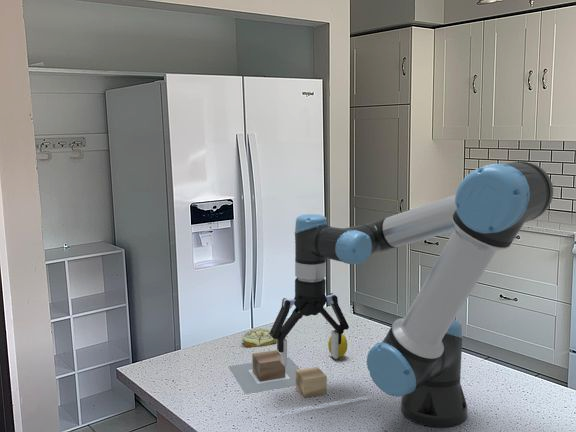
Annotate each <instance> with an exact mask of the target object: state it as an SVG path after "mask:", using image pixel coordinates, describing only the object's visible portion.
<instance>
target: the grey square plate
mask: <svg viewBox="0 0 576 432" xmlns="http://www.w3.org/2000/svg"><path fill="white" fill-rule="evenodd" d="M227 367H228V368H229V370H230V372H231V373H232V375H233V377H234V378H235V379H236V382H237V383H238V385H239V386H240V388H241V390H242V391H243V393H244V394H245V395H248V394H254V393H260V392H261V393H262V392H266V391H271V390H272V391H273V390H279V389H285V388H291V387H296V370H300V369H301V368H300V367H299V366H298V364H296V363H295V361H293V359H292V358H291V357H289V356H287V366H285V378H279V379H273V380H267V381H261V382H260V381H259V379H258V378H257V376H256V375H255V374H254V372H253V362H248V363H247V362H246V363H242V364H236V365H228V366H227Z"/></svg>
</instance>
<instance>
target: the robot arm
mask: <svg viewBox="0 0 576 432" xmlns="http://www.w3.org/2000/svg"><path fill="white" fill-rule="evenodd" d="M553 198H554V184H553V182H552V180H551V177H550V176H549V174H548V173H547V172H546V171H545V170H544V169H543V168H542V167H540V166H539V165H537V164H535V163H532V162H528V161H513V162H509V163H508V162H507V163H491V164H486V165H483V166H481V167H479V168H476V169H474V170H472V171H471V172H469V173H468V174H467V175H466V176H465V177H464V178H463V179H462V180H461V182H460V183H459V185H458V187H457V189H456V193H455V194H453V195H450V196H447V197H443V198H440V199H438V200H434V201H432V202H429V203H427V204H423V205H420V206H418V207H414V208H411V209H408V210H406V211H402V212H399V213H397V214H394V215H391V216H388V217H385V218H381V219H379V220H375V221H372V222H367V223H364V224H360V225H354V226H349V227H345V228H343V227H341V228H340V227H335V226H329V225H328V221H327V217H326V216H324V215H322V214H313V213H310V214H309V213H308V214H301V215H299V216H297V217H296V219H295V229H294V240H295V241H294V243H295V247H294V248H295V249H294V250H295V252H294V253H295V258H294V260H295V261H294V265H295V266H294V271H295V272H294V276H295V279H294V298H293V299H288V298H286V297H284V298H283V299H282V300H281V308H280V309H279V312H278V314H277V316H276V318H275V321H274V322H273V324H272V326H271V329H270V330H271V331H270V333H269V334H270V335H271V337H272V338H273V339H277V341H276V350H277V351H278V352H279V353H280V354H281V363H282V364H283V365H284V366H287V357H288V339H286V337H287V336H288V335H289V333H290V332H291V331H292V329H293V328H294V327H295V325H296V324H297V323H298V321H299V320H301V319H302V317H304V316H305V317H309V316H317V315H319V314H321V316H322V317H324V319H325V320H326V321H327V322H328V323H329V324H330V326H331V327H332V328H333V329H334V330H331V333H330V334H331V335H330V337H331V353H330V355H331V356H332V357H333V358H334V359H335V360H337V359H339V358H338V344H341V334H343V335H344V333H345V330H349V328H350V326H349V324H348V322H347V320H346V317H345V316H344V313H343V311H342V309H341V307H340V305H339V301H338V300H339V299H338V296H337V295H335V294H334V293H333V292H331V293H329V295H326V292H327V290H326V287H327V286H326V284H327V282H326V281H327V280H326V277H327V259H328V260H333V261H336V262H343V263H344V264H349V265H351V264H352V265H362V264H364V263H366V261H367V260H368V259H369V258H370V255H373V254H378V253H382V252H383V253H384V252H387V251H390V250H392V249H396V248H398V247H402V246H405V245H408V244H409V245H410V244H413V243H416V242H419V241H420V242H421V241H424V240H427V239H431V238H434V237H438V236H441V235H445V234H449V233H451V235H450V236H449V238H448V240H447V242H446V244H445V246H444V247H443V248H442V250H441V252H440V254H439V256H438V258H437V260H436V262H435V263H434V264H433V267H432V269H431V270H430V272H429V273H428V275H427V277H426V279H425V281H424V283H423V285H422V286H421V288H420V290H419V292H418V293H417V296H416V297H415V299H414V301H413V303H412V304H411V306H410V308H409V310H408V311H407V313H406V315H405V317H403V318H402V317H401V318H396V320H395V321H394V322H393V323H392V325H391V327H390V328H389V330H388V332H387V333H386V336H385V337H384V339H383V340H382V341H381V342H377V343H376V344H374V346H372V347H371V348H370V350H369V351H368V353H367V355H366V366H367V370H368V372H369V376H370V378H371V379H372V382H373V383H374V384H375V386H376V387H377V388H378V389H379V390H381V392H383V393H385V394H387V395H389V396H391V397H398V398H400V397H401V399H400V411H401V413H402V414H403V415H404V416H405V417H406V418H407V419H409V420H410V421H412V422H414V423H417V424H420V425H422V426H423V425H424V426H427V427H434V428H449V427H455V426H457V425H461V424H462V423H464V422H465V421H466V419H467V417H468V403H467V400H466V398H465V394H464V391H463V387H462V384H461V373H462V353H463V352H462V350H463V338H464V336H463V327H462V324H461V323H460V322H459V320H456V318H457V316H458V314H459V312H460V311H461V310H462V308H463V307H464V305H465V303H466V301H467V300H468V298H469V296H470V295H471V293H472V291H473V290H474V288H475V287H476V285H477V283H478V281H479V280H480V279H481V277H482V275H483V274H484V272H485V270H486V269H487V267H488V266H489V264H490V262H491V260H492V259H493V258H494V256H495V254H496V253H497V251H501V250H506V249H508V248H509V247H510V246H511V245H512V243H513V241H515V240H514V239H515V238H517V237H516V236H517V235H518V234H519V232H520V230H521V229H522V227H523V226H524V224H525V223H527V222H529V221H530V222H531V221H533V220H536V219H537V218H539V217H540V216H542V215H543V214H544V213H545V212H546V211H547V210H548V208H549V207H550V206H551V203H552V201H553ZM326 303H328V304H330V307H331V308H332V311H333V312H334V315H335V316H336V318H337V319H336V320H338V323H339V324H338V323H337V322H336V320H335V319H333V318H334V317H332V316H331V315H330V314H329V313H328V311H327V310H326V309H325V308H324V306H325V305H326ZM293 306H294V307H295V308H294V309H293V310H292V313H291V315H289V312H290V310H291V309H292V307H293ZM288 315H289V317H288ZM287 317H288V318H287ZM286 319H287V320H286Z"/></svg>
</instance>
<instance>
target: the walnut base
mask: <svg viewBox="0 0 576 432" xmlns="http://www.w3.org/2000/svg"><path fill="white" fill-rule="evenodd" d="M251 356H252V357H251V358H252V363H253V372H254V374H255V375H256V376H257V378H258V379H259V381H260V382H261V381H267V380H273V379H279V378H285V366H284V365H283V364H282V363H281V353H280V352H279V351H278V350H277V349H275V350H269V351H261V352H253V353H252V355H251Z"/></svg>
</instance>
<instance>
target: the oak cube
mask: <svg viewBox="0 0 576 432" xmlns="http://www.w3.org/2000/svg"><path fill="white" fill-rule="evenodd" d="M299 369H300V370H296V386H295V388H296V390H297V391H298V392H299V394H300V395H301V396H302V397H303V398H304V399H305V398H311V397H317V396H322V395H327V394H328V393H327V391H328V390H327V387H328V386H327V385H328V383H327V381H328V380H327V379H328V377H327V374H326V373H325V372H323V371H322V370H321V369H320V368H319V367H318V366H313V367H306V368H299Z"/></svg>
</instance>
